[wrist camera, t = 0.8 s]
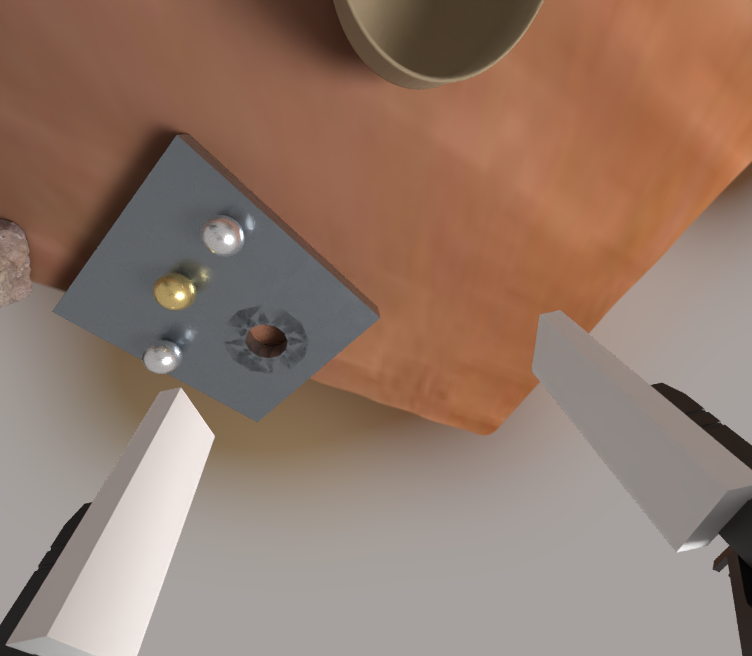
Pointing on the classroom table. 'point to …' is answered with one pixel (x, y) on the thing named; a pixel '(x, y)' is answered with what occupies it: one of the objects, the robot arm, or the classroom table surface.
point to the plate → (217, 287)
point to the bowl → (433, 36)
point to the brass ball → (174, 291)
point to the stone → (13, 264)
